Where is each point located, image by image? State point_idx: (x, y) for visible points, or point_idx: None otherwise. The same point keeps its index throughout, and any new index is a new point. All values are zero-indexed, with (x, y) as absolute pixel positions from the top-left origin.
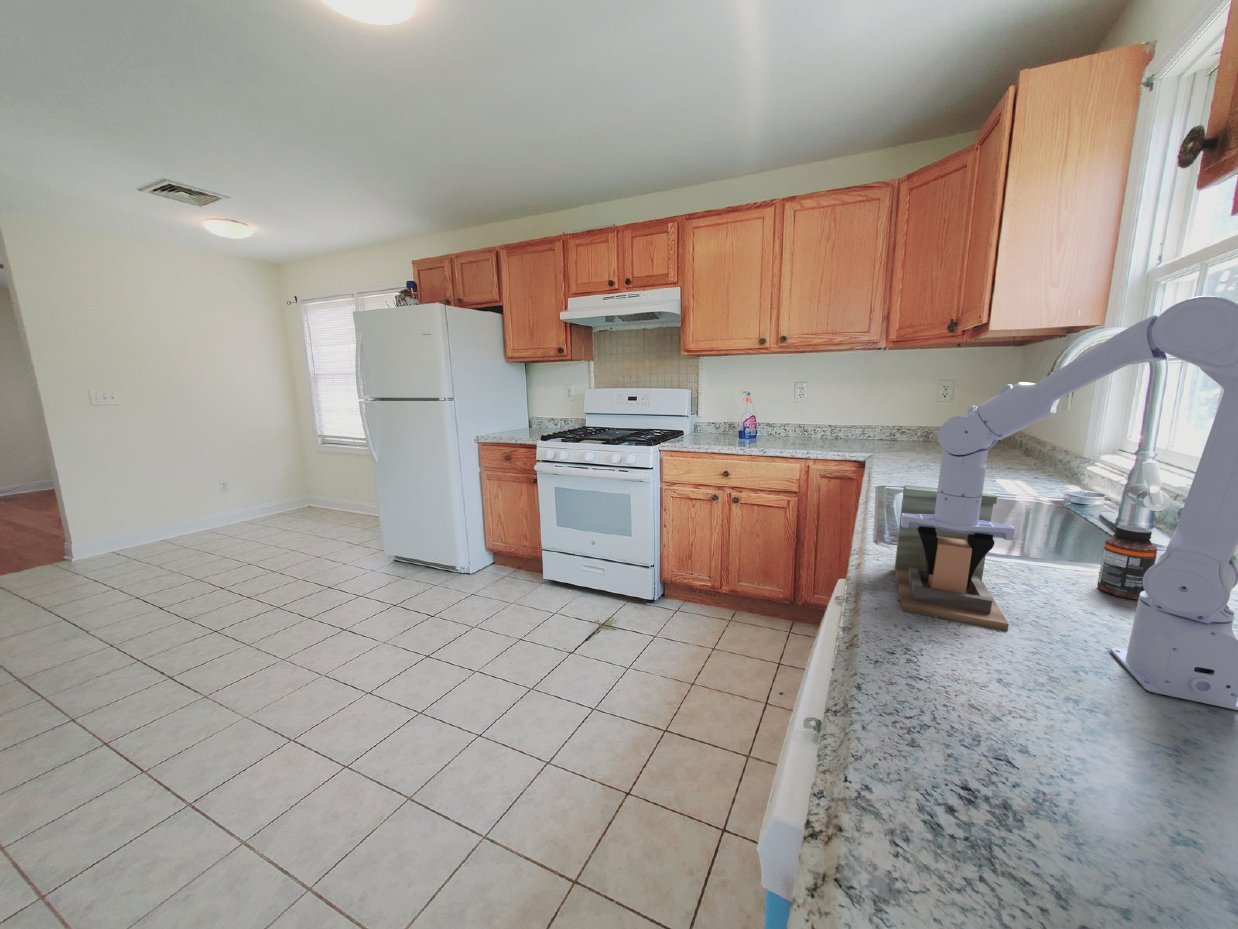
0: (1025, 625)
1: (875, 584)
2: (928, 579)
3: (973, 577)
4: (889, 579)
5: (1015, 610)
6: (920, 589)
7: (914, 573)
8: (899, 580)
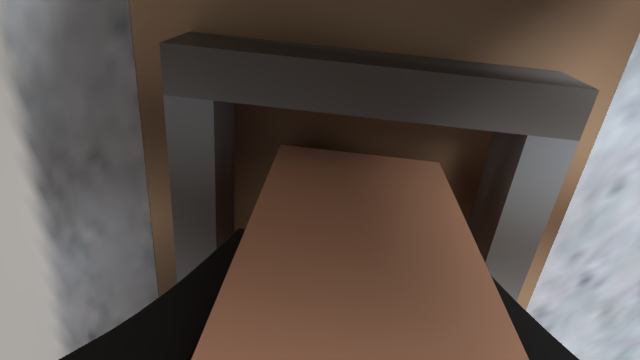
0: (577, 325)
1: (54, 120)
2: (278, 151)
3: (555, 122)
4: (110, 15)
5: (634, 211)
6: None
7: (188, 178)
8: (145, 113)
